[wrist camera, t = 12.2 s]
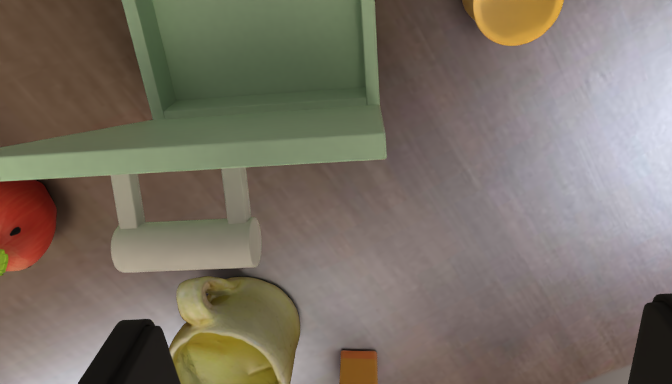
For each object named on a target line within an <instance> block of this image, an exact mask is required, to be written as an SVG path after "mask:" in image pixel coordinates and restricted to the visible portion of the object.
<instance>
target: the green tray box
mask: <svg viewBox="0 0 672 384" xmlns="http://www.w3.org/2000/svg"><path fill="white" fill-rule="evenodd" d="M122 3H123V7H124V11H125V15H126V19H127V22H128V26H129V30H130V34H131V38H132V41H133V45H134V49H135V53H136V57H137V60H138V64H139V68H140V72H141V76H142V79H143V83H144V87H145V91H146V95H147V98H148V102H149V106H150V110H151V114H152V117H153V120H161V119H175V118H190V117H205V116H220V115H234V114H249V113H264V112H278V111H293V110H308V109H323V108H337V107H352V106H367V105H380V98H379V78H378V58H377V37H376V17H375V0H122Z"/></svg>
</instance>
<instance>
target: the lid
mask: <svg viewBox="0 0 672 384" xmlns="http://www.w3.org/2000/svg"><path fill="white" fill-rule="evenodd" d="M386 157H387V155H386V135H385V130H384V124H383V119H382V114H381V109H380V105H367V106H352V107H337V108H323V109H308V110H293V111H278V112H264V113H249V114H234V115H220V116H205V117H190V118H175V119H161V120H149V121H144V122H138V123H133V124H127V125H122V126H116V127H111V128H105V129H100V130H94V131H89V132H83V133H78V134H72V135H67V136H61V137H56V138H50V139H45V140H39V141H34V142H28V143H23V144H17V145H12V146H6V147H1V148H0V182H1V181H18V180H35V179H53V178H70V177H87V176H104V175H111V181H112V187H113V193H114V199H115V204H116V210H117V216H118V222H119V226H118V227H117V228H116V230H115V231H114V234H113V236H112V241H111V256H112V260H113V263H114V265H115V267H116V269H117V270H118V271H120V272H123V273H127V272H152V271H177V270H203V269H228V268H253V267H257V266H258V264H259V262H260V258H261V250H262V240H261V231H260V226H259V223H258V221H257V219H256V218H254V217H251V211H250V202H249V193H248V184H247V175H246V167H259V166H276V165H294V164H311V163H328V162H345V161H363V160H380V159H386ZM208 169H221V171H222V179H223V187H224V195H225V204H226V212H227V219H208V220H188V221H167V222H147V223H145V217H144V211H143V205H142V198H141V192H140V186H139V179H138V174H139V173H156V172H173V171H190V170H208Z"/></svg>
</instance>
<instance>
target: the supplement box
mask: <svg viewBox="0 0 672 384" xmlns="http://www.w3.org/2000/svg"><path fill="white" fill-rule="evenodd" d="M339 384H378V378H377V353H376V351H348V350H342V351H341V365H340V383H339Z"/></svg>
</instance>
